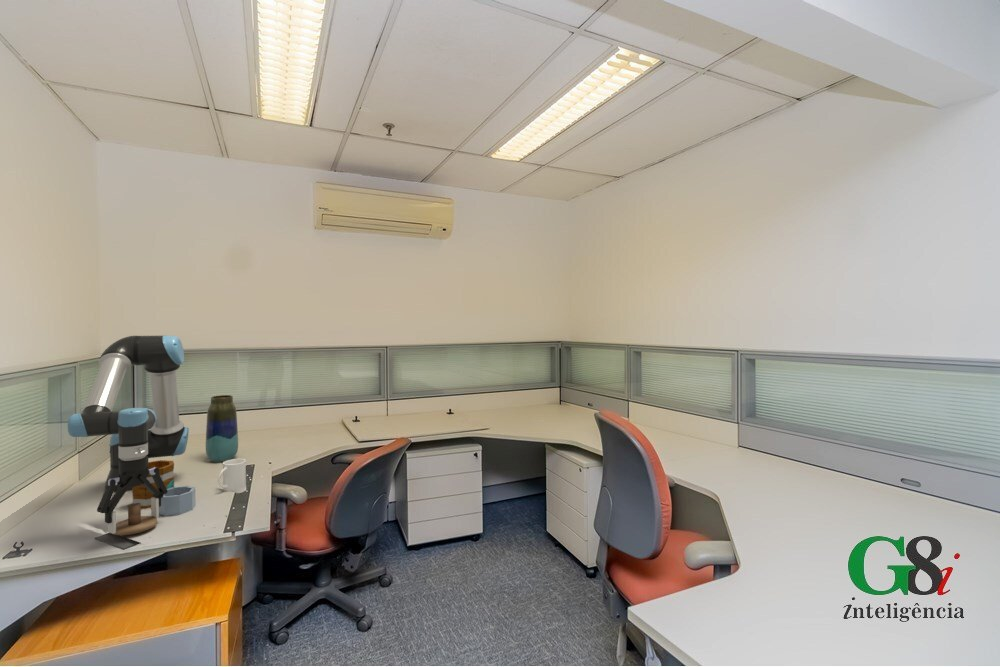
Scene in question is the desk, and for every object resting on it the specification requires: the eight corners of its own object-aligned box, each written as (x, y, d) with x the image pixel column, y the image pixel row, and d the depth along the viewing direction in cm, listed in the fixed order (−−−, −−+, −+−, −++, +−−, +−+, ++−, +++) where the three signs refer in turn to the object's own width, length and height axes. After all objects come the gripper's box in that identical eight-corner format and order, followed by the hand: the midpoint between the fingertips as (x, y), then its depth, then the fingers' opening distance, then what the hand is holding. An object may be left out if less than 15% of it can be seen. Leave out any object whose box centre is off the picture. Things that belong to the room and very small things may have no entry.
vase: (203, 465, 222) (202, 399, 221) (208, 457, 235) (207, 395, 234) (236, 462, 228) (236, 397, 227) (239, 454, 240) (239, 393, 239)
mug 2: (225, 499, 181) (224, 468, 181) (209, 495, 184) (209, 465, 184) (251, 489, 192) (251, 459, 192) (236, 486, 195) (236, 457, 195)
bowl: (151, 516, 165) (151, 493, 165) (182, 505, 174) (182, 484, 174) (170, 522, 160) (170, 498, 160) (201, 510, 170) (200, 488, 170)
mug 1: (167, 510, 170) (167, 469, 169) (123, 514, 166) (122, 472, 165) (186, 491, 188) (186, 454, 188) (147, 494, 185) (146, 457, 184)
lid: (103, 530, 148) (102, 508, 148) (143, 517, 158) (143, 495, 158) (124, 538, 143) (124, 514, 143) (164, 523, 153) (164, 501, 153)
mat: (94, 538, 148) (94, 537, 148) (143, 521, 160) (143, 520, 160) (123, 549, 141) (123, 548, 141) (172, 530, 154) (172, 529, 154)
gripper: (95, 469, 138) (96, 542, 138) (179, 449, 159) (180, 513, 160) (81, 466, 141) (82, 537, 141) (166, 446, 162) (166, 509, 163)
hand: (134, 524), depth 151 cm, fingers closed on lid, 11 cm apart
